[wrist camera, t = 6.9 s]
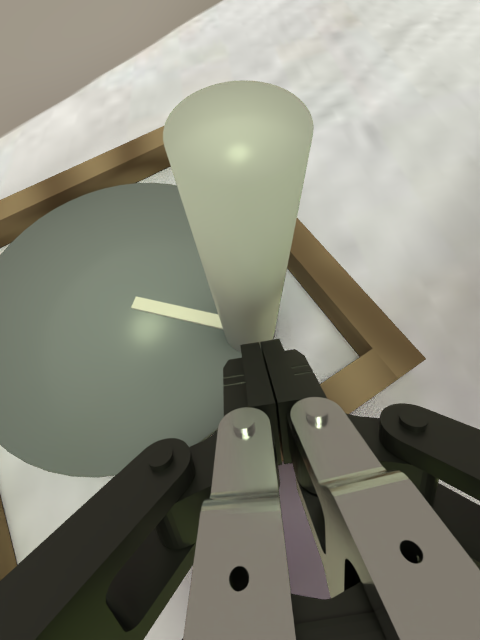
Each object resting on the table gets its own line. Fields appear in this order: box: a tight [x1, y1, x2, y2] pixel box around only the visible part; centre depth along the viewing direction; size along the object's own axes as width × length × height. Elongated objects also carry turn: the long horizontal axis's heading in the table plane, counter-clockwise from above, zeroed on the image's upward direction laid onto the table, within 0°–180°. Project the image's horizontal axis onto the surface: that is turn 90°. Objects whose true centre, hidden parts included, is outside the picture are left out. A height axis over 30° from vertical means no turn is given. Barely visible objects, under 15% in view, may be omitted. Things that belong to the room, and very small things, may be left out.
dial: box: [0, 81, 313, 477], centre depth 13 cm, size 20×20×14 cm
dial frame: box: [0, 126, 426, 581], centre depth 19 cm, size 26×26×2 cm
